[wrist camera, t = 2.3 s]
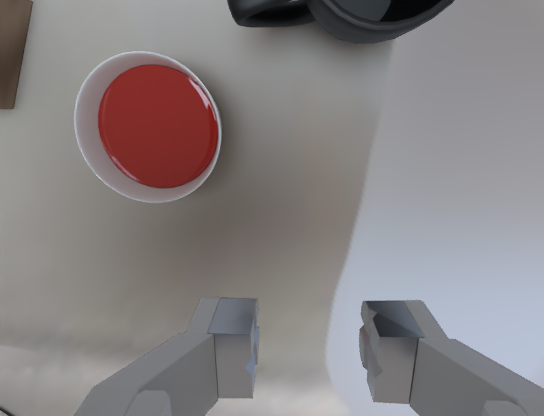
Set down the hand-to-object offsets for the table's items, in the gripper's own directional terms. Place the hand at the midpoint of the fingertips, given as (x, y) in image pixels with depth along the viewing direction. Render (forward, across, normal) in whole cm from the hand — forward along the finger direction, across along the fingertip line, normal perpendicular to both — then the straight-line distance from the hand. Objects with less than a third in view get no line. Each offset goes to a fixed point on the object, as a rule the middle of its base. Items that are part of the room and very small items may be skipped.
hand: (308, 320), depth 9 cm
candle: (+19, +9, -4) cm, 22 cm away
